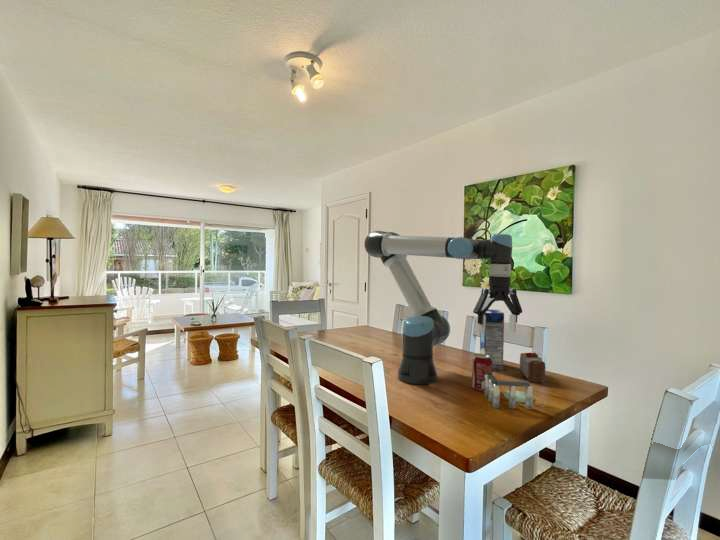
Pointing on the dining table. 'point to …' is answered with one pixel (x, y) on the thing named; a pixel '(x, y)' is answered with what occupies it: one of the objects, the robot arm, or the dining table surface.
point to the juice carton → (493, 338)
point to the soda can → (480, 370)
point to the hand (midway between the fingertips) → (497, 332)
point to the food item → (532, 367)
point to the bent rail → (494, 391)
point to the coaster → (517, 396)
